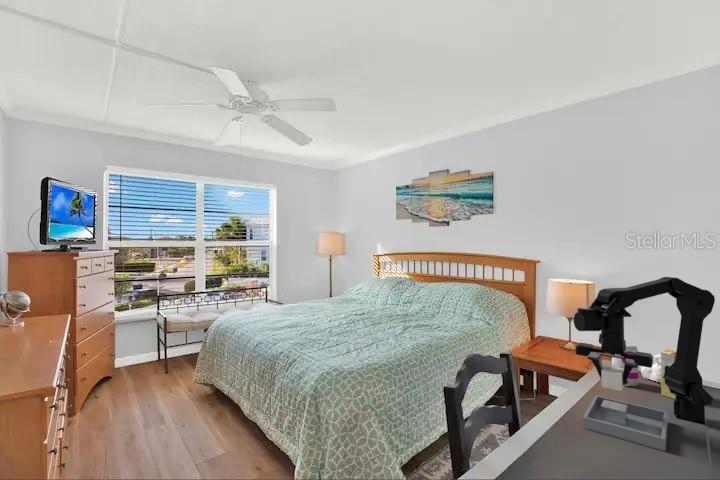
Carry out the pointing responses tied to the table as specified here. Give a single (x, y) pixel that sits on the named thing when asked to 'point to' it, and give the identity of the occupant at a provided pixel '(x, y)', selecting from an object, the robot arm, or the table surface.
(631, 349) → the supplement can
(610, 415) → the steel block
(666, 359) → the candy box
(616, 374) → the cream box
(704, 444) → the table surface
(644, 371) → the duck figurine
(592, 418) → the tray
